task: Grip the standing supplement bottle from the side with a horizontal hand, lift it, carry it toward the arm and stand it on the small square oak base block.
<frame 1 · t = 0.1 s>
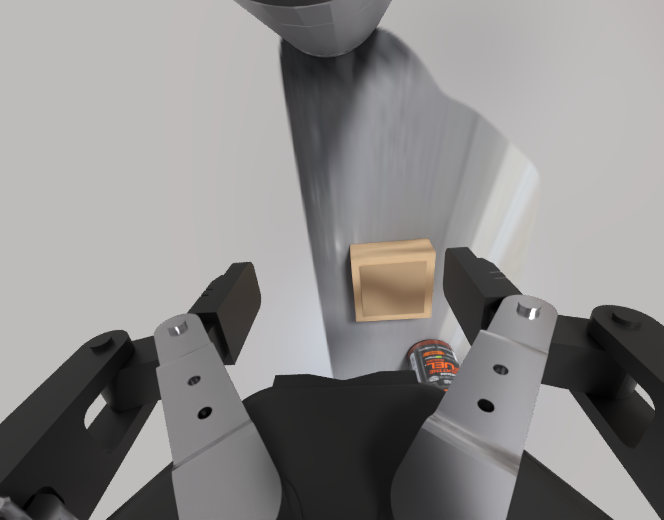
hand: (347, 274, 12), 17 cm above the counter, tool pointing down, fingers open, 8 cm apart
supplement bottle: (428, 352, 39), on the counter
oak base: (389, 273, 33), on the counter
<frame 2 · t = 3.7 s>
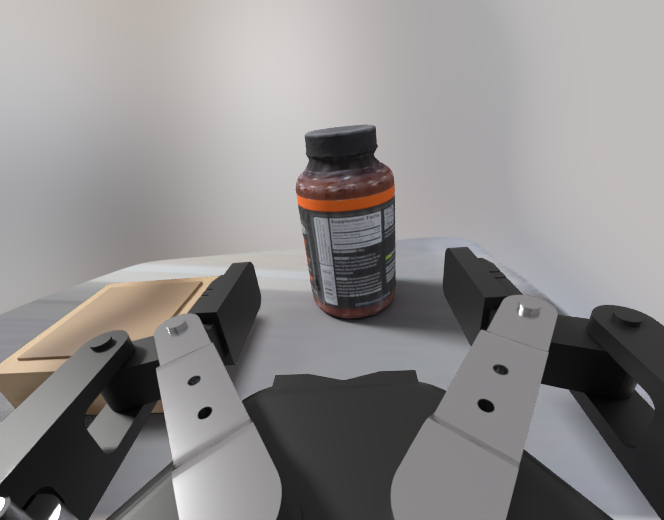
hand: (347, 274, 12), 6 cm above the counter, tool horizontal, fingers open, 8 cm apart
supplement bottle: (354, 299, 22), on the counter
oak base: (144, 355, 18), on the counter
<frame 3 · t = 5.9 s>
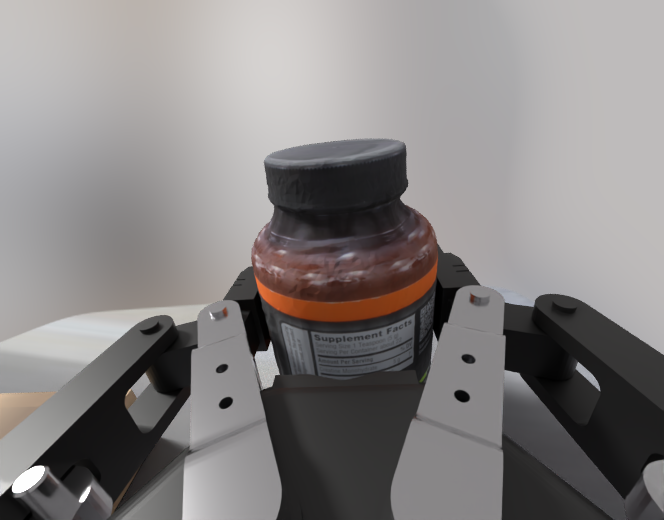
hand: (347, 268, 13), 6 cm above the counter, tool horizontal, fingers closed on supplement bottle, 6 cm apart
supplement bottle: (357, 413, 14), on the counter, touching gripper
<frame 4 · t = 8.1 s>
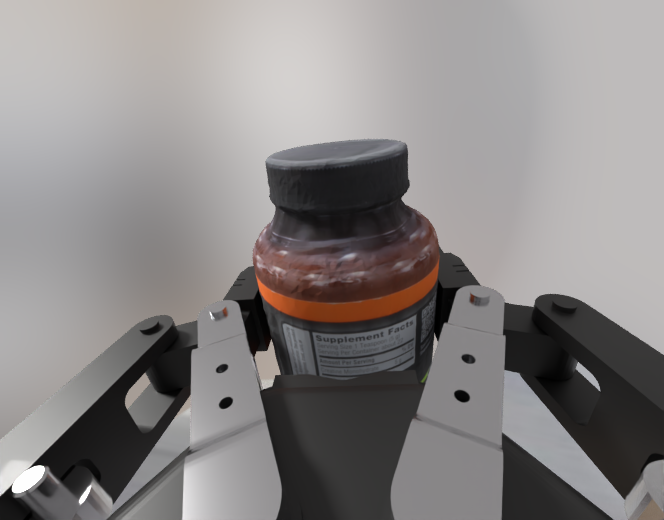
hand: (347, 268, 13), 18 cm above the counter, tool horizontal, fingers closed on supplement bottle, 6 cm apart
supplement bottle: (358, 414, 14), point 11 cm above the counter, touching gripper
when the fingers open (10 cm above the counter, at t = 10.4 s): supplement bottle stays where it is, resting on oak base.
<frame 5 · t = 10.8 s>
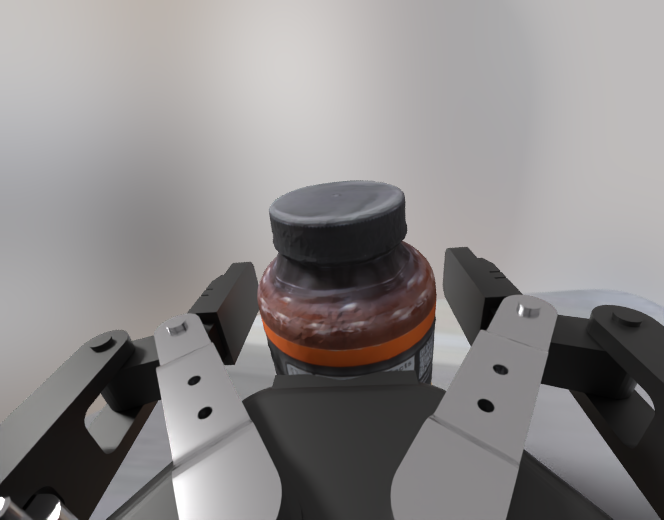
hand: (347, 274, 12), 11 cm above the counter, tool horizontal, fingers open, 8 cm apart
supplement bottle: (360, 435, 14), point 3 cm above the counter, touching oak base
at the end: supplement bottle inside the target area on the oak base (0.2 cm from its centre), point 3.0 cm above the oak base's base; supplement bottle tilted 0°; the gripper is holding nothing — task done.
